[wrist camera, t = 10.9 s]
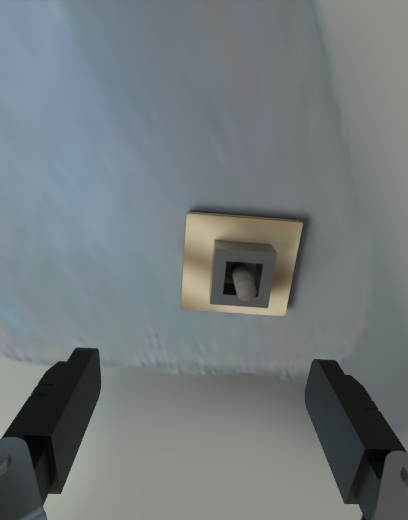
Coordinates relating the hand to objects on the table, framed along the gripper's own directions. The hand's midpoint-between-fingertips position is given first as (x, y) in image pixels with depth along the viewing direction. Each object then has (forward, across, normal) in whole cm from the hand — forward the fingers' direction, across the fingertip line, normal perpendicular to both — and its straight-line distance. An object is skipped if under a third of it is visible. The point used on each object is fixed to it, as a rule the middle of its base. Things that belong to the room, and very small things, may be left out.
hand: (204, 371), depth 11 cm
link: (+21, -4, +5) cm, 22 cm away
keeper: (+22, -4, +4) cm, 23 cm away
